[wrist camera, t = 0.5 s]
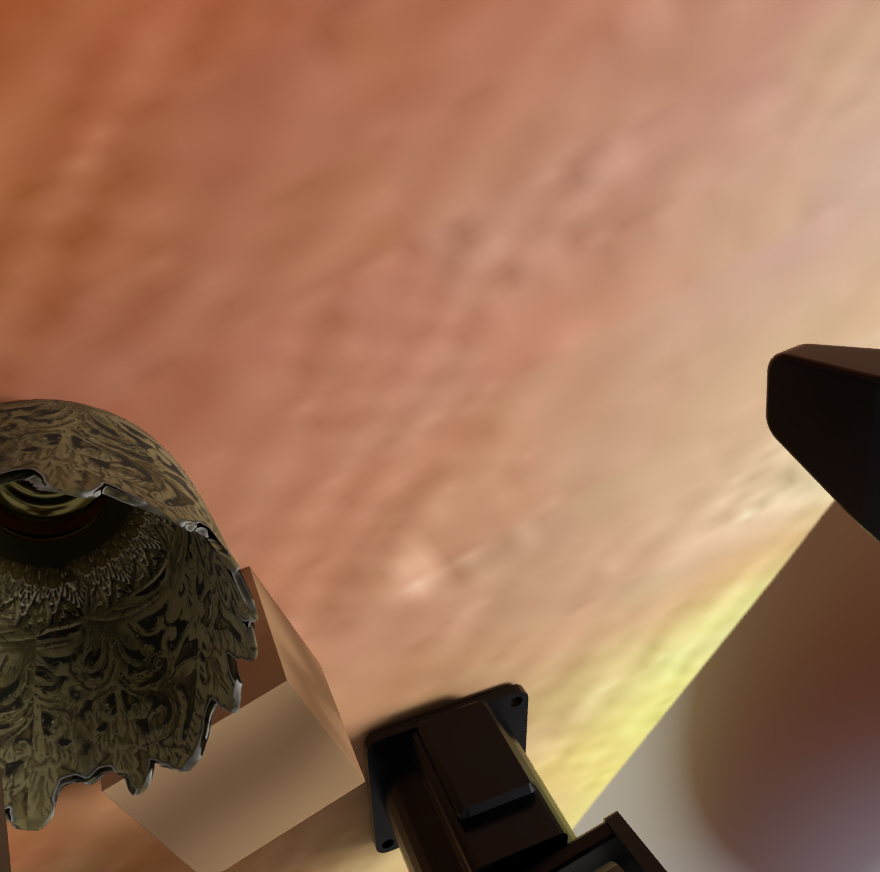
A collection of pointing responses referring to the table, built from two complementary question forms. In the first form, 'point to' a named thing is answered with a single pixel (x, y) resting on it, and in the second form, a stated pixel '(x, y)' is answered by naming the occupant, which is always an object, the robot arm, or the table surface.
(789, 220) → the table surface
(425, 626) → the table surface
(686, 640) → the table surface
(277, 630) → the walnut block
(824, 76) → the table surface
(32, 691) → the ornate bronze bell
